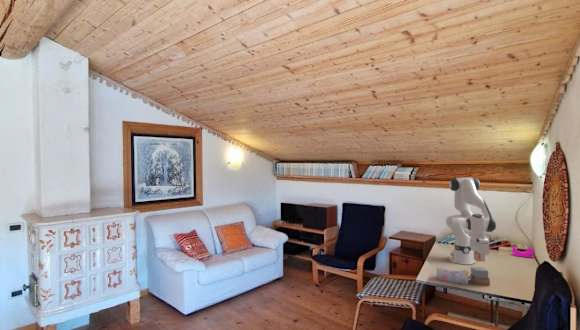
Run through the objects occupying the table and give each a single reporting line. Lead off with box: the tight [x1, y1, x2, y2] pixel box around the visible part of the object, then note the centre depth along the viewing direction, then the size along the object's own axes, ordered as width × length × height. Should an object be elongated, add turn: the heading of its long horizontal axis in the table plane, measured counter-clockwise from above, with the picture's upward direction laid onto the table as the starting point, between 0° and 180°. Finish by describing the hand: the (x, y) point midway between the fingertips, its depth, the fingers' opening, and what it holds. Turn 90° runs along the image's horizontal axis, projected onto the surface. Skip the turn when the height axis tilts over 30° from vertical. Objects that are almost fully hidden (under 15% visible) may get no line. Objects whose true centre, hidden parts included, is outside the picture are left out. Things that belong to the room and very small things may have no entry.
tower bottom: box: [469, 273, 491, 286], centre depth 231 cm, size 9×9×5 cm
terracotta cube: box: [473, 251, 486, 262], centre depth 231 cm, size 5×5×5 cm
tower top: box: [470, 266, 489, 278], centre depth 231 cm, size 8×8×5 cm
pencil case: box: [436, 267, 470, 286], centre depth 234 cm, size 21×9×10 cm, turn 60°
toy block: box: [511, 245, 534, 258], centre depth 296 cm, size 15×6×8 cm, turn 59°
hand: (479, 258), depth 231 cm, fingers closed on terracotta cube, 5 cm apart
